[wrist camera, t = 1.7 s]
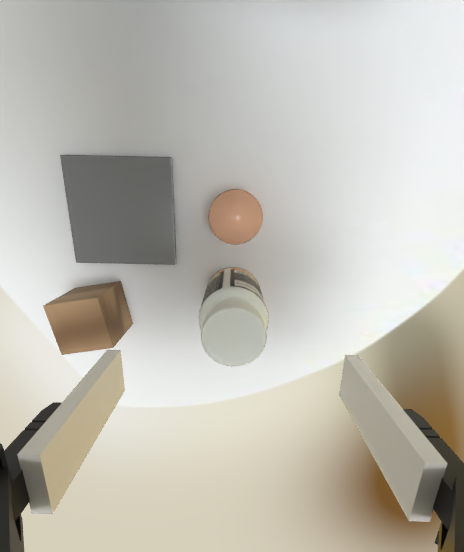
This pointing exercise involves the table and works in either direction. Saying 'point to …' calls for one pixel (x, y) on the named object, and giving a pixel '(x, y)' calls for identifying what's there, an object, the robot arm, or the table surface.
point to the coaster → (121, 208)
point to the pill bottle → (233, 318)
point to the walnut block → (89, 318)
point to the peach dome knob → (235, 216)
